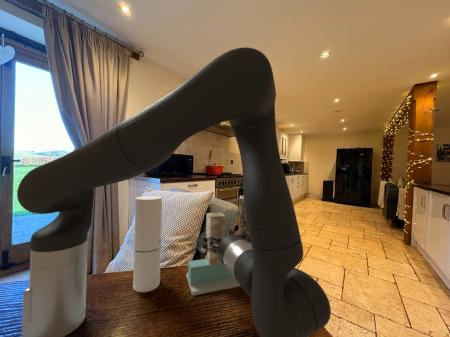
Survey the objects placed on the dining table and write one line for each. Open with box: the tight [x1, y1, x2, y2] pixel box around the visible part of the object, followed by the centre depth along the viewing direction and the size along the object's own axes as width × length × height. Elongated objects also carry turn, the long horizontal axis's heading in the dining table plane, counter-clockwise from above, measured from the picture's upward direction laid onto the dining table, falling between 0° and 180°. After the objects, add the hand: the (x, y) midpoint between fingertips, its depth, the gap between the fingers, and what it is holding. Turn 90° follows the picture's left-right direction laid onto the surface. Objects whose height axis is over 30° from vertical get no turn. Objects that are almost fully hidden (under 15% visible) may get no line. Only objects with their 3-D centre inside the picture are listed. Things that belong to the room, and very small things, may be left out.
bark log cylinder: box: [238, 195, 249, 235], centre depth 65 cm, size 7×7×25 cm
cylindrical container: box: [132, 195, 163, 293], centre depth 57 cm, size 7×7×25 cm
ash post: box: [204, 212, 226, 265], centre depth 59 cm, size 4×4×14 cm
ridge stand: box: [185, 258, 241, 296], centre depth 59 cm, size 15×10×6 cm, turn 110°
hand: (216, 234), depth 58 cm, fingers open, 8 cm apart
